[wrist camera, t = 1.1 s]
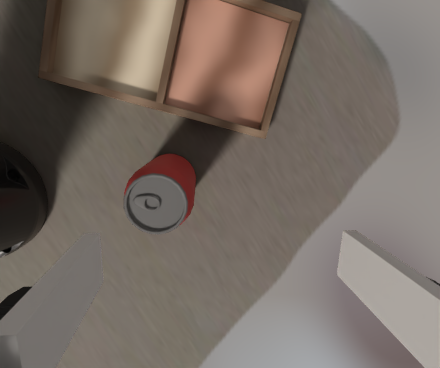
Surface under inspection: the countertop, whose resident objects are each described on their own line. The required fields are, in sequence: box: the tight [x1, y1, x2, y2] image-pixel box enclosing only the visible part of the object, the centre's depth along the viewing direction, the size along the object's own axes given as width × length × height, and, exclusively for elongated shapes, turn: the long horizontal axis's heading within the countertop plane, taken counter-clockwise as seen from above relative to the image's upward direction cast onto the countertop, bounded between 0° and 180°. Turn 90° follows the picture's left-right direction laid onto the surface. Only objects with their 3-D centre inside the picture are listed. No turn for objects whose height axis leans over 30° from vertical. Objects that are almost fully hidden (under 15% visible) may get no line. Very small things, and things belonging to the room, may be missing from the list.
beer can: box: [124, 154, 196, 234], centre depth 29 cm, size 7×7×12 cm
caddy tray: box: [38, 0, 302, 139], centre depth 30 cm, size 26×14×3 cm, turn 75°
